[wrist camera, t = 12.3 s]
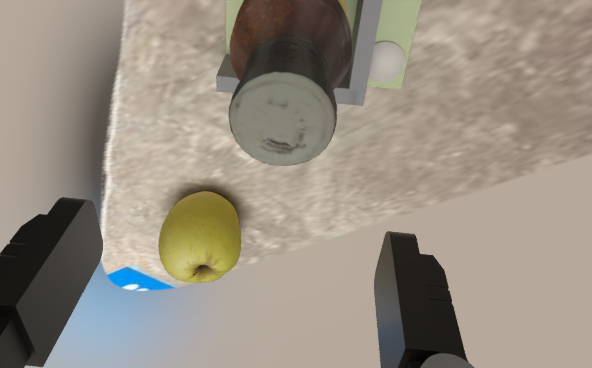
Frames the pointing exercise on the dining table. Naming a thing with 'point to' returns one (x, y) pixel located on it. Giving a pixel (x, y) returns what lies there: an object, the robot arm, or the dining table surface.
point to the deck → (355, 47)
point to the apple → (200, 238)
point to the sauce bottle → (287, 76)
